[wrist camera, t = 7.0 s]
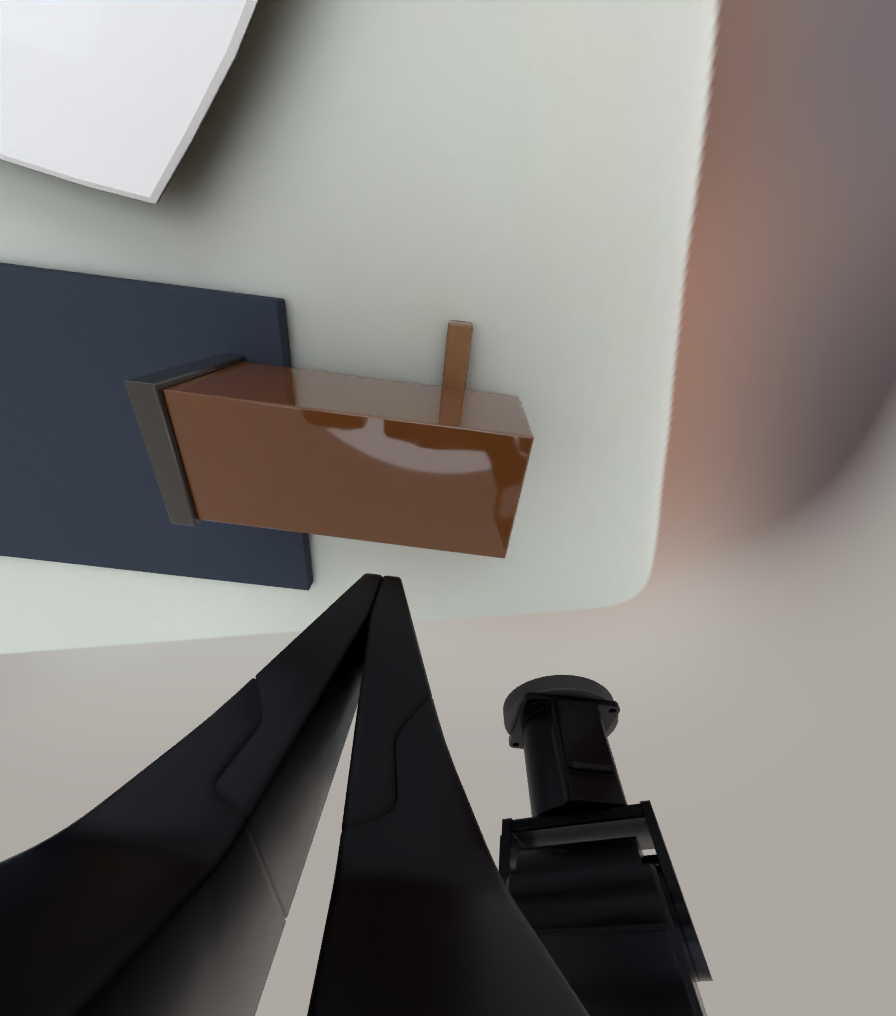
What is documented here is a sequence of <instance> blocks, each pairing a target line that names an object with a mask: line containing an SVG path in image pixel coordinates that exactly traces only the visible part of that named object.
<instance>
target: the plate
mask: <svg viewBox="0 0 896 1016" xmlns="http://www.w3.org/2000/svg"><path fill="white" fill-rule="evenodd" d="M258 2H259V0H0V159H2V160H5V161H8V162H11V163H14V164H18V165H21V166H24V167H27V168H30V169H33V170H37V171H40V172H43V173H46V174H49V175H52V176H56V177H59V178H62V179H65V180H68V181H71V182H75V183H78V184H81V185H84V186H87V187H91V188H95V189H99V190H103V191H107V192H111V193H115V194H119V195H122V196H126V197H130V198H134V199H138V200H142V201H146V202H150V203H154V204H156V203H157V202H159V200H160V198H161V196H162V195H163V193H164V191H165V189H166V188H167V186H168V184H169V182H170V180H171V179H172V177H173V175H174V173H175V172H176V170H177V168H178V166H179V165H180V163H181V161H182V159H183V157H184V156H185V154H186V152H187V150H188V149H189V147H190V145H191V143H192V141H193V140H194V138H195V136H196V134H197V132H198V130H199V128H200V126H201V124H202V123H203V121H204V119H205V117H206V115H207V113H208V111H209V109H210V107H211V105H212V103H213V101H214V99H215V98H216V96H217V94H218V92H219V90H220V88H221V86H222V84H223V82H224V80H225V78H226V76H227V74H228V72H229V71H230V69H231V67H232V65H233V63H234V61H235V59H236V57H237V55H238V52H239V50H240V47H241V45H242V42H243V40H244V37H245V35H246V32H247V30H248V27H249V25H250V22H251V20H252V17H253V15H254V12H255V10H256V7H257V5H258Z"/></svg>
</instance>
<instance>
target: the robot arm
mask: <svg viewBox="0 0 896 1016" xmlns="http://www.w3.org/2000/svg"><path fill="white" fill-rule="evenodd" d="M357 704H358V709H357V715H356V723H355V731H354V739H353V746H352V754H351V761H350V769H349V776H348V784H347V792H346V800H345V807H344V815H343V823H342V833H341V838H340V846H339V852H338V859H337V865H336V871H335V878H334V884H333V889H332V894H331V900H330V904H329V910H328V914H327V919H326V924H325V929H324V934H323V940H322V944H321V949H320V955H319V960H318V964H317V969H316V974H315V979H314V984H313V989H312V994H311V999H310V1004H309V1009H308V1014H307V1016H707V1014H706V1011H705V1008H704V1005H703V1002H702V999H701V995H700V992H699V989H698V986H697V983H696V982H699V981H712V977H711V974H710V971H709V969H708V966H707V963H706V960H705V957H704V954H703V951H702V948H701V946H700V943H699V940H698V937H697V934H696V931H695V928H694V925H693V922H692V919H691V917H690V914H689V911H688V908H687V905H686V902H685V899H684V896H683V893H682V891H681V888H680V885H679V882H678V879H677V876H676V873H675V871H674V868H673V865H672V862H671V859H670V856H669V853H668V851H667V848H666V845H665V842H664V839H663V837H662V834H661V831H660V828H659V825H658V822H657V820H656V817H655V814H654V811H653V808H652V806H651V803H650V801H649V800H648V801H641V802H640V804H634V805H627V802H626V799H625V795H624V792H623V789H622V785H621V782H620V779H619V775H618V772H617V769H616V765H615V762H614V758H613V755H612V752H611V749H610V745H609V742H608V739H607V735H606V733H607V731H608V730H609V728H610V726H611V725H612V723H613V721H614V720H615V718H616V717H617V715H618V713H619V712H620V708H619V706H618V703H617V702H616V701H610V700H601V699H592V698H583V697H574V696H564V695H555V694H546V693H537V692H529V693H526V694H525V695H524V698H523V701H522V703H521V706H520V709H519V712H518V714H517V717H516V720H515V723H514V725H513V728H512V731H511V734H510V737H509V745H510V746H511V747H513V748H520V749H524V753H525V763H526V770H527V778H528V787H529V796H530V804H531V813H532V817H531V818H524V819H516V820H512V818H508V819H503V820H502V835H501V836H500V854H499V871H498V869H497V867H496V865H495V863H494V861H493V859H492V856H491V854H490V852H489V849H488V848H487V845H486V843H485V840H484V838H483V835H482V833H481V830H480V828H479V825H478V823H477V821H476V818H475V816H474V813H473V811H472V808H471V806H470V803H469V802H468V799H467V796H466V794H465V791H464V789H463V786H462V784H461V782H460V779H459V777H458V774H457V772H456V769H455V766H454V764H453V761H452V758H451V756H450V753H449V750H448V748H447V745H446V742H445V739H444V736H443V733H442V729H441V726H440V723H439V719H438V716H437V712H436V709H435V705H434V701H433V699H432V694H431V690H430V687H429V683H428V679H427V675H426V672H425V668H424V664H423V660H422V657H421V653H420V649H419V645H418V641H417V637H416V634H415V630H414V626H413V622H412V619H411V615H410V611H409V607H408V603H407V600H406V596H405V592H404V588H403V585H402V581H401V579H400V578H399V577H394V576H384V577H382V576H381V575H377V574H368V573H367V574H364V575H363V576H362V577H361V578H360V579H359V580H358V581H357V582H356V583H355V584H353V585H352V586H351V587H350V588H349V589H348V590H347V591H346V592H345V593H344V594H343V595H342V596H341V597H339V598H338V599H337V600H336V601H335V602H334V603H333V604H332V605H331V606H330V607H329V608H328V609H327V610H326V611H324V612H323V613H322V614H321V615H320V616H319V617H318V618H317V619H316V620H315V621H314V622H313V623H312V624H311V625H309V626H308V627H307V628H306V629H305V630H304V631H303V632H302V633H301V634H300V635H299V636H298V637H297V638H295V639H294V640H293V641H292V642H291V643H290V644H289V645H288V646H287V647H286V648H285V649H284V650H283V651H282V652H280V653H279V654H278V655H277V656H276V657H275V658H274V659H273V660H272V661H271V662H270V663H269V664H268V665H267V666H265V667H264V668H263V669H262V670H261V671H260V672H259V673H258V674H257V675H256V679H254V678H253V679H251V680H250V681H249V682H248V683H247V684H246V685H245V686H244V687H243V688H242V689H240V690H239V691H238V692H237V693H236V694H235V695H234V696H233V697H232V698H231V699H230V700H228V701H227V702H226V703H225V704H224V705H223V706H222V707H220V708H219V709H218V710H217V711H216V712H215V713H214V714H213V715H212V716H210V717H209V718H208V719H206V720H205V721H204V722H203V723H202V724H200V725H199V726H198V727H197V728H195V729H194V730H193V731H192V732H191V733H190V734H188V735H187V736H186V737H184V738H183V739H182V740H181V741H179V742H178V743H177V744H176V745H175V746H173V747H172V748H171V749H169V750H168V751H167V752H165V753H164V754H163V755H162V756H160V757H159V758H158V759H157V760H155V761H154V762H153V763H151V764H150V765H149V766H148V767H146V768H145V769H144V770H143V771H141V772H140V773H139V774H137V775H136V776H135V777H134V778H132V779H131V780H130V781H129V782H127V783H126V784H125V785H123V786H122V787H121V788H120V789H119V790H117V791H116V792H114V793H113V794H112V795H111V796H109V797H108V798H107V799H106V800H104V801H103V802H102V803H100V804H99V805H98V806H96V807H95V808H94V809H93V810H91V811H90V812H89V813H87V814H86V815H84V816H83V817H82V818H80V819H79V820H77V821H76V822H74V823H73V824H71V825H70V826H69V827H67V828H65V829H63V830H62V831H60V832H59V833H57V834H55V835H54V836H52V837H50V838H48V839H47V840H45V841H43V842H41V843H39V844H38V845H36V846H34V847H32V848H30V849H28V850H26V851H24V852H22V853H19V854H17V855H16V856H13V857H11V858H8V859H7V860H4V861H2V862H0V1016H255V1013H256V1010H257V1007H258V1004H259V1001H260V998H261V995H262V992H263V989H264V986H265V983H266V980H267V977H268V974H269V971H270V968H271V965H272V962H273V959H274V956H275V953H276V950H277V947H278V944H279V941H280V938H281V935H282V932H283V928H284V926H285V923H286V920H285V918H287V916H288V913H289V910H290V907H291V904H292V901H293V898H294V895H295V892H296V889H297V886H298V883H299V880H300V877H301V874H302V871H303V868H304V865H305V862H306V859H307V856H308V852H309V849H310V847H311V844H312V841H313V838H314V835H315V831H316V828H317V825H318V822H319V819H320V816H321V813H322V810H323V807H324V804H325V801H326V798H327V795H328V792H329V789H330V786H331V783H332V780H333V777H334V774H335V771H336V768H337V765H338V762H339V759H340V756H341V753H342V750H343V747H344V744H345V741H346V738H347V734H348V732H349V729H350V726H351V722H352V720H353V717H354V713H355V711H356V708H357ZM645 849H655V850H656V853H657V855H647V856H644V855H643V852H642V850H645Z"/></svg>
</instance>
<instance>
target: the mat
mask: <svg viewBox="0 0 896 1016" xmlns="http://www.w3.org/2000/svg"><path fill="white" fill-rule="evenodd" d="M222 353H227V354H235V355H243V356H245V359H246V362H251V363H259V364H267V365H275V366H283V367H290V368H291V362H290V352H289V343H288V333H287V323H286V313H285V303H284V299H282V298H274V297H266V296H258V295H250V294H242V293H234V292H227V291H219V290H211V289H203V288H195V287H187V286H179V285H171V284H163V283H156V282H148V281H140V280H132V279H124V278H116V277H108V276H100V275H93V274H85V273H77V272H69V271H61V270H53V269H45V268H37V267H30V266H22V265H14V264H6V263H0V556H9V557H18V558H27V559H35V560H44V561H53V562H62V563H71V564H80V565H89V566H97V567H106V568H115V569H124V570H133V571H142V572H151V573H159V574H168V575H177V576H186V577H195V578H204V579H213V580H221V581H230V582H239V583H248V584H257V585H266V586H275V587H283V588H292V589H301V590H309V589H310V587H311V585H312V583H313V577H312V568H311V558H310V548H309V538H308V533H301V532H294V531H286V530H278V529H270V528H262V527H254V526H247V525H239V524H231V523H223V522H215V521H207V520H203V521H201V522H200V523H199V524H198V525H197V526H188V525H180V524H172V523H171V522H170V519H169V516H168V513H167V510H166V507H165V504H164V501H163V498H162V495H161V492H160V489H159V486H158V483H157V480H156V477H155V474H154V471H153V468H152V465H151V462H150V459H149V455H148V452H147V449H146V446H145V443H144V440H143V437H142V434H141V431H140V428H139V425H138V422H137V419H136V416H135V413H134V410H133V407H132V404H131V401H130V398H129V395H128V392H127V389H126V386H125V383H124V382H125V381H126V380H129V379H133V378H137V377H140V376H144V375H147V374H151V373H154V372H158V371H161V370H165V369H168V368H172V367H176V366H179V365H183V364H186V363H190V362H193V361H197V360H200V359H204V358H207V357H211V356H214V355H218V354H222Z"/></svg>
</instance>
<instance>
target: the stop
mask: <svg viewBox="0 0 896 1016" xmlns="http://www.w3.org/2000/svg"><path fill="white" fill-rule="evenodd" d="M472 331H473V325H472V323H470V322H462V321H455V320H451V321H450V322H449V324H448V332H447V342H446V352H445V362H444V372H443V382H442V387H447V388H455V389H463V390H465V385H466V377H467V369H468V362H469V354H470V347H471V339H472Z"/></svg>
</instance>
